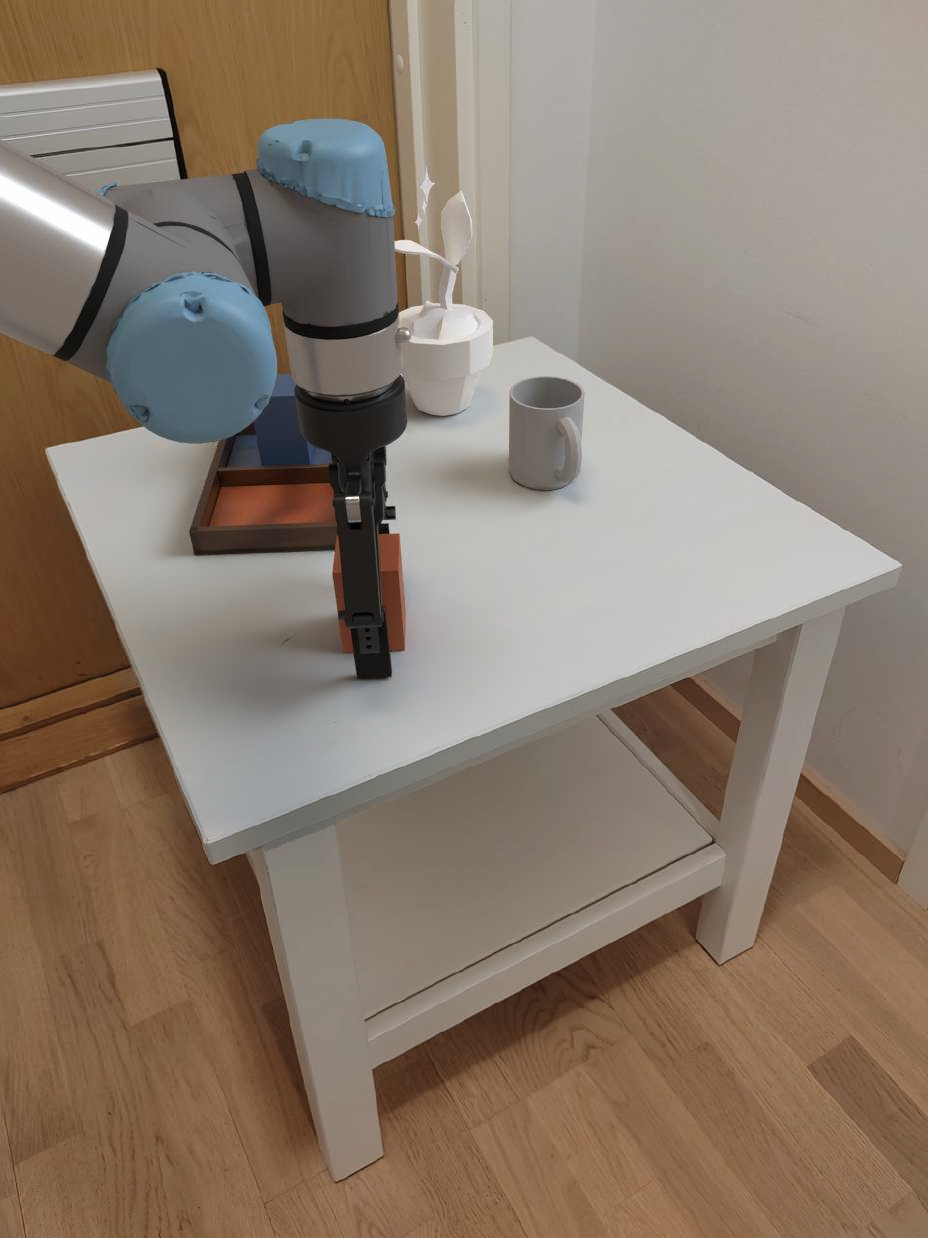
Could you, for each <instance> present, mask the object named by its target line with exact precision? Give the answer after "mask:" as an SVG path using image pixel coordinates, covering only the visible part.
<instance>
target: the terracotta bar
mask: <svg viewBox="0 0 928 1238" xmlns="http://www.w3.org/2000/svg"><path fill="white" fill-rule="evenodd" d="M401 545H402V543H401V534H400V533H390V534H379V551H380V569H381V587H382V604H383V606H385V607H386V617H387V626H388V636H389V646H390V652H396V651H397V652H398V651H405V650H406V617H407V616H406V615H407V614H406V611H407V610H406V600H405V599H406V597H405V585H404V571H403V559H402V547H401ZM333 556H334V557H333V564H332V574H331V575H332V581H333V582H332V583H333V588H334V589H333V590H334V597H335V604H336V610H337V611H336V612H337V613H338V612H339V611H340V610H345V605H344V594H343V583H342V572H341V561H340V550H339V539H338V536H337V537H336V545H335V550H334V555H333ZM338 626H339V633H340V641H341V648H342V653H343V654H346V653H349V654H350V653H353V645H352V638H351V630H350V628H347V627H346V623H345V621H344V620H339V619H338Z"/></svg>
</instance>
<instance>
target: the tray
mask: <svg viewBox="0 0 928 1238" xmlns="http://www.w3.org/2000/svg"><path fill="white" fill-rule="evenodd" d="M329 463H332V457H331V453H330V452H328V451H325V450H321V449H319V448H316V447H314V449H313V455H312V461H311V464H310V465H283V466H261V460H260V455H259V449H258V443H257V438H256V432H255V426H254V421H253V422H252V423H251V424H250V425H249V426H248V427H246V428H245V429H243V430H242V431H240V432H239V433H237V434H235V435H233V436H231V437H229V438H226V439H223V440H220V441H217V445H216V448H215V451H214V454H213V457H212V461H211V463H210V465H209V466H210V467H209V470H208V473H207V475H206V479H205V481H204V485H203V488H202V491H201V493H200V497H199V500H198V503H197V506H196V509H195V512H194V515H193V517H192V521H191V524H190V527H189V531H188V534H189V538H190V543H191V547H192V552H193V554H194V556H203V555H205V556H206V555H228V554H229V555H230V554H231V555H232V554H233V555H234V554H256V553H260V554H261V553H283V552H308V551H311V552H312V551H335V545H336V537H337V536H338V528H337V522H336V519H335V508H334V507H333V500H334V490H333V488H332V487H331V485H330V482H329Z"/></svg>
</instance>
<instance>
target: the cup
mask: <svg viewBox="0 0 928 1238" xmlns="http://www.w3.org/2000/svg"><path fill="white" fill-rule="evenodd" d="M585 394H586V393H585V390H584V388H583V387H582V385H580V384H579V383H578V382H576V381H574V380H572V379H569V378H566V377H560V376H553V375H539V376H532V377H527V378H524V379H521V380H519V381H517V382H515V383H514V384H513V385H512V386H511V387H510V390H509V404H508V405H509V408H508V409H509V410H508V412H509V413H508V414H509V415H508V420H509V421H508V471H509V474H510V476H511V477H512V479H513V480H514V481H515V482H516V483H518V484H519V485H521V486H523V487H525V488H527V489H528V488H529V489H532V490H541V491H550V490H556V489H557V490H558V489H561V488H564V487H567V486H568V485H570V484H572V483H573V482H574V481H575V480H576V479H577V478H578V476H579V474H580V471H581V468H582V458H583V451H582V449H583V448H582V447H583V446H582V438H583V423H584V411H585V410H584V406H585Z"/></svg>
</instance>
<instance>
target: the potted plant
mask: <svg viewBox="0 0 928 1238" xmlns="http://www.w3.org/2000/svg"><path fill="white" fill-rule="evenodd" d="M435 184H436V183H435V182H432V181H431V180H430V177H429V174H428V167H427V165H426V166H425V176H424V180H423V182H422V184H421V186H419V187H418V189H421V190H422V191H423V193H424V196H425V197H424V198H425V200H423V203H422V205H421V206H422V207H421V209H422V211H423V215H425V213H426V209H427V206H428V204H427V203H428V201H429V195H430V192H431V191H430V190H431V189H432V187H433V186H434V185H435ZM423 221H424V219H422V218H421V217H420V213H419V211H418V212H417V219H416V221H415V222H414V224H416V225H417V229H418V230H420V225H421V223H422V222H423ZM440 231H441V236H442V241H443V250H444V257H443V256H442V255H440V254H437V253H435V252H433V251H431V250H430V249H427V248H426V247H425V246H422V245H421V244H419V243H418V242H415V241H413V240H410V239H399V240H395V253H396V252H397V253H400V254H404V255H413V256H414V255H416V256H425V257H429V258H434V259H435V260H437V261H438V262H439V263H441V264H442V265H443V268H442V269H443V270H442V273H441V275H440V281H439V287H438V292H437V295H438V300H439V302H436V303H435V302H431V301H429V300H426V301H425V303H424V304H422V305H421V304H420V305H415V306H411V307H408V308H405V309H404V310H402V311H399V326H398V328H401V327H406V328H408V329H409V331H410V333H411V339H410V340H409V341H408V342H406V343H401V347H402V361H403V369H402V372H401V376H402V377H403V378H404V381H405V386H406V388H407V389H408V390H407V391H408V392H409V395H410V397H411V400H412V402H413V404H414V405H415V407H416V409H417V410H418V411H421V412H424V413H426V414H428V415H431V416H437V417H438V416H439V417H446V416H452V415H457V414H459V413H461V412H463V411H464V410H467V409H469V408H470V405H471V403H472V400H473V397H474V395H475V392H476V389H477V386H478V383H479V379H480V376H481V373H482V370H483V369H486V368H487V367H488V366H489V365H490V363H491V360H492V358H493V355H494V320H493V319H492V318H491V316H489V315H488V314H487V313H486V312H485V310H482V309H480V308H476V307H474V306H470V305H467V304H463V303H461V304H460V303H453V292H454V289H455V285H456V281H457V274H458V273H459V270H460V268H459V267H458V266H457V265H459V264H460V262H461V261H462V259H463V258H464V256H465V255H466V253H467V251H468V249H469V246H470V244H471V242H472V240H473V237H474V233H473V231H474V230H473V219H472V216H471V213H470V211H469V207H468V205H467V202H466V199H465V196H464V193H463V190H460V191H459V192H457V193H456V194H455V195H453V196H452V197H451V198H449V199H448V200H447V201H446V203H445V205H444V206H443V208H442V210H441V211H440Z"/></svg>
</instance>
